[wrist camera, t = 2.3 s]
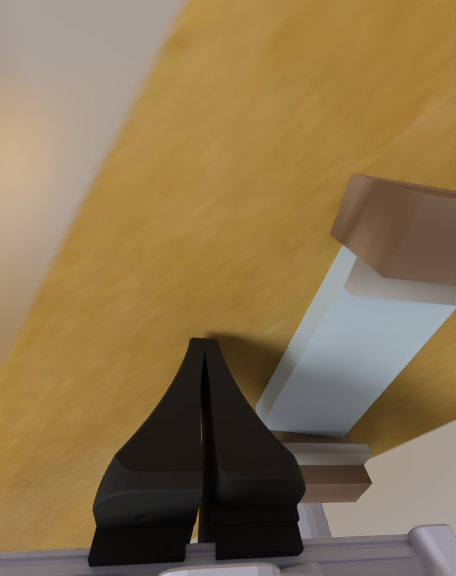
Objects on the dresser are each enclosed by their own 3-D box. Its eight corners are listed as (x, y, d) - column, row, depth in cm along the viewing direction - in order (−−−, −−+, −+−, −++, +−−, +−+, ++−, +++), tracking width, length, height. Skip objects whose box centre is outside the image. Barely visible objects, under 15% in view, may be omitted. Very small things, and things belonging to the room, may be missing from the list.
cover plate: (330, 410, 19) (342, 437, 17) (254, 400, 18) (259, 428, 16) (439, 268, 14) (473, 288, 12) (339, 239, 12) (360, 257, 11)
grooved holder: (330, 439, 20) (355, 501, 17) (255, 438, 19) (266, 503, 16) (481, 195, 11) (604, 223, 8) (352, 173, 10) (425, 194, 7)
